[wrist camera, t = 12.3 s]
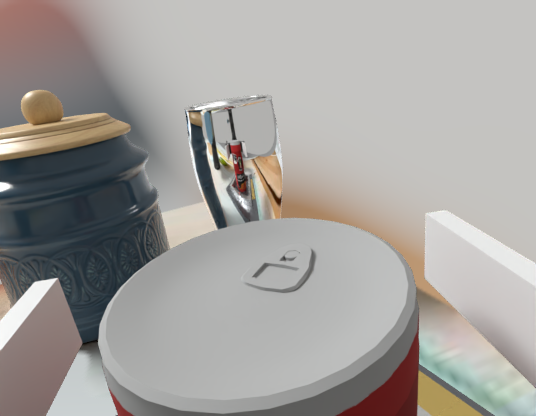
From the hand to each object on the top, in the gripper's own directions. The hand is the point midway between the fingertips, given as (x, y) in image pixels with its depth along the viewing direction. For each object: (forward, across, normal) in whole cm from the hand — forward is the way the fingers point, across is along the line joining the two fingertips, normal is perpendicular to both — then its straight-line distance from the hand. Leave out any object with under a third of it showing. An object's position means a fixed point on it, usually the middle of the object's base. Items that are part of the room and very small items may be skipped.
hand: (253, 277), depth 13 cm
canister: (+18, -13, -10) cm, 25 cm away
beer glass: (+17, 0, -10) cm, 20 cm away
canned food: (-3, 0, -9) cm, 10 cm away
